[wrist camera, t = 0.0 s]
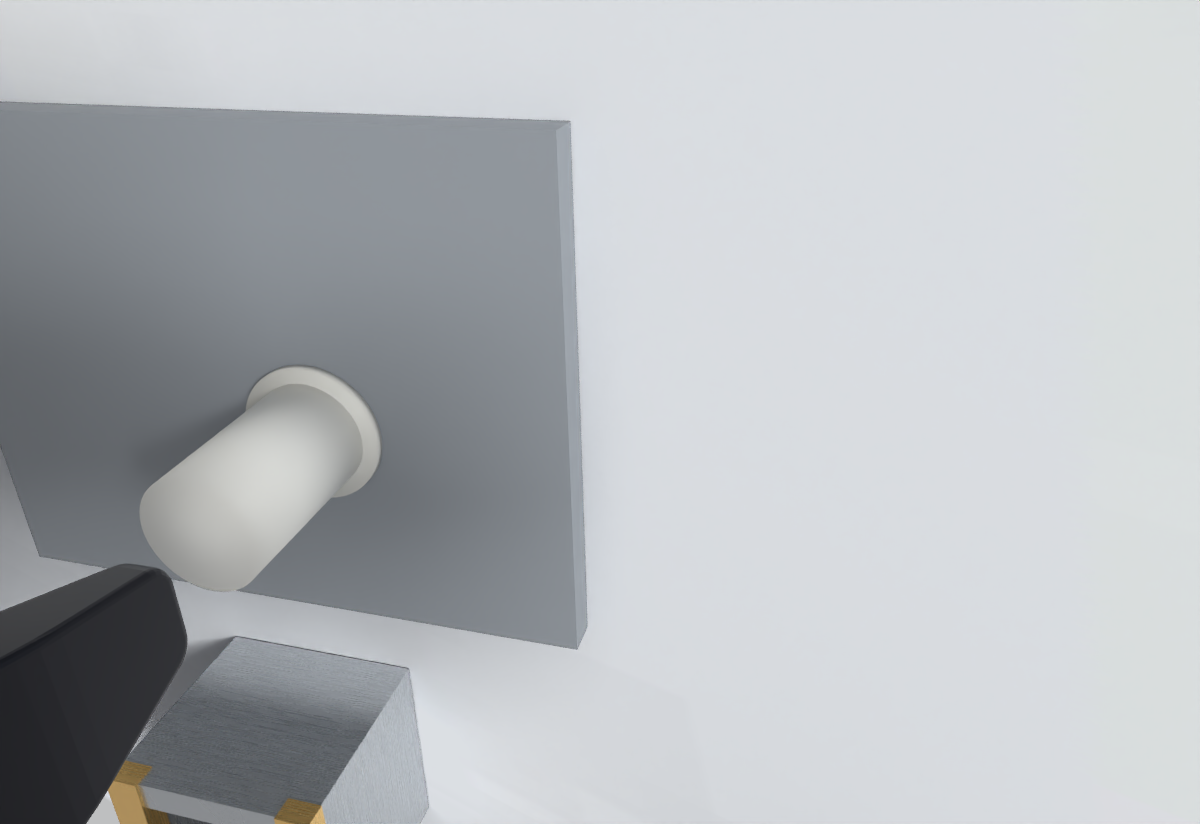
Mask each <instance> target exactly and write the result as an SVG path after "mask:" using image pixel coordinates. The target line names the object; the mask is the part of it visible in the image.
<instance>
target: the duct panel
mask: <svg viewBox="0 0 1200 824" xmlns="http://www.w3.org/2000/svg"><path fill="white" fill-rule="evenodd" d="M0 446H1V449H2V451H3V454H4V457H5V460H6V463H7V466H8V468H9V471H10V474H11V477H12V480H13V483H14V485H15V488H16V491H17V494H18V497H19V500H20V502H21V505H22V508H23V511H24V514H25V517H26V519H27V522H28V525H29V528H30V531H31V534H32V536H33V539H34V542H35V545H36V548H37V551H38V553H39V556H40V557H46V558H52V559H57V560H63V561H69V562H75V563H80V564H86V565H92V566H98V567H103V568H111V567H113V566H116V565H119V564H125V563H130V564H137V565H143V566H149V567H155V568H159V569H161V570H163V571H165V572H166V573H167V574H168V575H169V577H170V578H171V579H173V580H178V581H184V582H190V583H191V584H194V585H196V586H198V587H201V588H204V589H207V590H212V591H219V592H229V591H235V590H236V591H242V592H248V593H253V594H259V595H265V596H271V597H276V598H282V599H288V600H294V601H299V602H305V603H311V604H317V605H323V606H328V607H334V608H340V609H346V610H351V611H357V612H363V613H369V614H374V615H380V616H386V617H392V618H397V619H403V620H409V621H415V622H420V623H426V624H432V625H438V626H444V627H449V628H455V629H461V630H467V631H472V632H478V633H484V634H490V635H495V636H501V637H507V638H513V639H518V640H524V641H530V642H536V643H542V644H547V645H553V646H559V647H565V648H570V649H576V650H577V649H578V647H579V645H580V642H581V640H582V638H583V635H584V633H585V631H586V628H587V601H586V572H585V542H584V513H583V483H582V454H581V425H580V395H579V366H578V336H577V307H576V277H575V248H574V219H573V189H572V160H571V130H570V121H552V120H523V119H494V118H464V117H435V116H405V115H376V114H347V113H317V112H288V111H259V110H229V109H200V108H170V107H141V106H112V105H82V104H53V103H23V102H0Z"/></svg>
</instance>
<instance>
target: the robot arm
mask: <svg viewBox="0 0 1200 824" xmlns="http://www.w3.org/2000/svg"><path fill="white" fill-rule="evenodd" d="M186 649H187V633H186V629H185V626H184V622H183V618H182V615H181V611H180V608H179V604H178V600H177V597H176V593H175V590H174V586H173V583H172V580H171V578H170V577H169V575H168V574H167V573H166V572H165V571H163V570H161V569H159V568H155V567H149V566H143V565H137V564H130V563H125V564H119V565H116V566H113V567H111V568H108V569H106V570H103V571H101V572H98V573H96V574H93V575H91V576H88V577H86V578H83V579H80V580H78V581H75V582H73V583H70V584H68V585H65V586H63V587H60V588H58V589H55V590H53V591H50V592H48V593H45V594H43V595H40V596H38V597H35V598H33V599H30V600H28V601H25V602H23V603H20V604H18V605H15V606H13V607H10V608H8V609H5V610H3V611H0V824H86V823H87V822H88V820H89V818H90V817H91V815H92V814H93V813H94V811H95V810H96V808H97V807H98V805H99V804H100V802H101V800H102V799H103V797H104V796H105V794H106V792H107V791H108V789H109V787H110V786H111V784H112V783H113V781H114V779H115V777H116V776H117V774H118V772H119V771H120V769H121V767H122V765H123V764H124V762H125V760H126V759H127V757H128V755H129V753H130V752H131V750H132V748H133V747H134V745H135V743H136V741H137V740H138V738H139V736H140V735H141V733H142V731H143V729H144V728H145V726H146V724H147V723H148V721H149V719H150V717H151V716H152V714H153V712H154V711H155V709H156V707H157V705H158V704H159V702H160V700H161V698H162V697H163V695H164V693H165V692H166V690H167V688H168V686H169V685H170V683H171V681H172V680H173V678H174V676H175V674H176V673H177V671H178V669H179V668H180V666H181V664H182V662H183V660H184V657H185V654H186Z"/></svg>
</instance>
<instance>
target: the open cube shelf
mask: <svg viewBox="0 0 1200 824" xmlns="http://www.w3.org/2000/svg"><path fill="white" fill-rule="evenodd" d="M108 792H109V794H110V797H111V800H112V803H113V805H114V808H115V811H116V814H117V816H118V819H119V822H120V824H420V823H421V821H422V819H423V817H424V816H425V814H426V812H427V810H428V808H429V804H428V797H427V790H426V783H425V777H424V770H423V763H422V756H421V749H420V743H419V736H418V729H417V722H416V715H415V708H414V702H413V695H412V688H411V681H410V674H409V669H407V668H402V667H397V666H391V665H386V664H381V663H375V662H370V661H365V660H359V659H354V658H349V657H343V656H338V655H332V654H327V653H322V652H316V651H311V650H306V649H300V648H295V647H290V646H284V645H279V644H274V643H268V642H263V641H258V640H252V639H247V638H241V637H235V638H234V639H233V640H232V641H231V642H230V644H229V645H228V646H227V647H226V648H225V649H224V650H223V651H222V652H221V653H220V655H219V656H218V657H217V658H216V659H215V660H214V661H213V662H212V663H211V665H210V666H209V667H208V668H207V669H206V670H205V671H204V672H203V673H202V675H201V676H200V677H199V678H198V679H197V680H196V681H195V682H194V683H193V684H192V686H191V687H190V688H189V689H188V690H187V691H186V692H185V693H184V694H183V696H182V697H181V698H180V699H179V700H178V701H177V702H176V703H175V704H174V705H173V707H172V708H171V709H170V710H169V711H168V712H167V713H166V714H165V715H164V717H163V718H162V719H161V720H160V721H159V722H158V723H157V724H156V725H155V727H154V728H153V729H152V730H151V731H150V732H149V733H148V734H147V735H146V736H145V738H144V739H143V740H142V741H141V742H140V743H139V744H138V745H137V746H136V748H135V749H134V750H133V751H132V752H131V753H130V754H129V755H128V757H127V759H126V760H125V762H124V764H123V765H122V767H121V769H120V771H119V772H118V774H117V776H116V777H115V779H114V781H113V783H112V784H111V786H110V787H109V789H108Z"/></svg>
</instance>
